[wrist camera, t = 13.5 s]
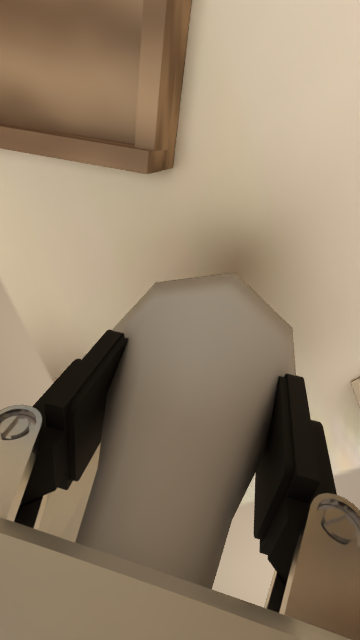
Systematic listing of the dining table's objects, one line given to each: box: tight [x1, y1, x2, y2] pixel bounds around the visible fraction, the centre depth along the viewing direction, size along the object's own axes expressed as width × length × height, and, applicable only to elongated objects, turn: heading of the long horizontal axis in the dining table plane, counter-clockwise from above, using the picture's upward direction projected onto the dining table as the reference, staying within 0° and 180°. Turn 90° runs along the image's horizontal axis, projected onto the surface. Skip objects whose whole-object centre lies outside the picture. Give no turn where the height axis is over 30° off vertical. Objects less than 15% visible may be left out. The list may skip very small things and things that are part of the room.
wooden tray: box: [0, 0, 192, 174], centre depth 19 cm, size 14×16×6 cm
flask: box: [75, 272, 296, 589], centre depth 9 cm, size 7×7×10 cm
